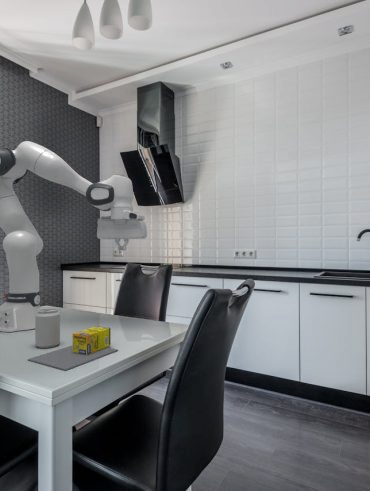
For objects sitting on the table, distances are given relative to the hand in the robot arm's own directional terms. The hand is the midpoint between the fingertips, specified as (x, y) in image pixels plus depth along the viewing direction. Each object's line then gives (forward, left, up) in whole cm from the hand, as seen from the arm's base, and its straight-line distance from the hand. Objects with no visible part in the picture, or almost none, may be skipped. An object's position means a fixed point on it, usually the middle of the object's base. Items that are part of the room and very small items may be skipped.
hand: (121, 250), depth 134 cm
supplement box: (+3, -24, -28) cm, 37 cm away
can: (-15, -27, -31) cm, 44 cm away
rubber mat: (-1, -35, -31) cm, 47 cm away
